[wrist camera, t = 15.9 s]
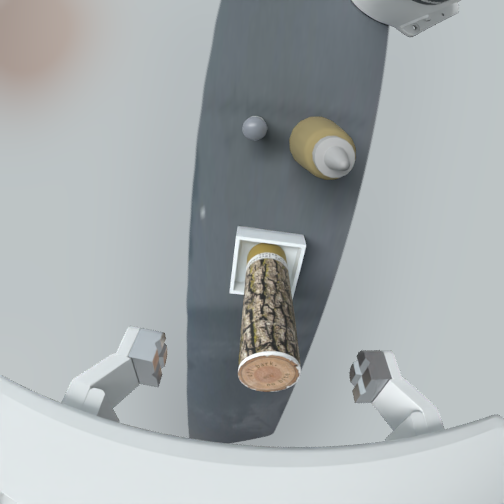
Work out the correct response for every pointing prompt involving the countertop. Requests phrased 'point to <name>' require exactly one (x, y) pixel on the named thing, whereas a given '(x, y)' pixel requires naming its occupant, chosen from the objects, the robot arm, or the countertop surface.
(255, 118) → the sample vial
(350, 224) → the countertop surface
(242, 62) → the countertop surface
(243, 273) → the tray
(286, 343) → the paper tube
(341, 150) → the squeeze bottle
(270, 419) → the countertop surface
